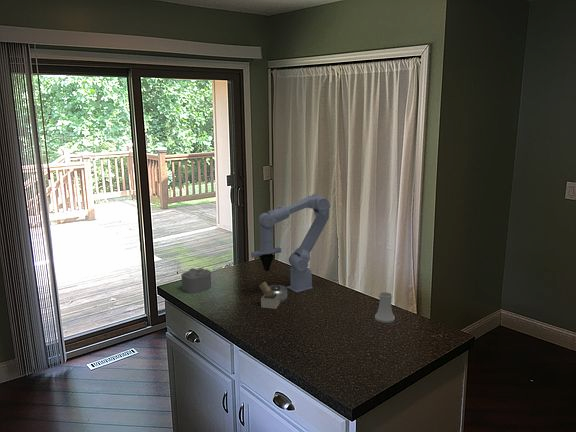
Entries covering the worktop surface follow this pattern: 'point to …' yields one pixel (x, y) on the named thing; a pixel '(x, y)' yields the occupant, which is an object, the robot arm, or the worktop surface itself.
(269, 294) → the key peg
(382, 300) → the vase
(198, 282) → the lumpy-topped squat cylinder
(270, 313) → the worktop surface
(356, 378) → the worktop surface
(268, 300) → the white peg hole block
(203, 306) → the worktop surface
